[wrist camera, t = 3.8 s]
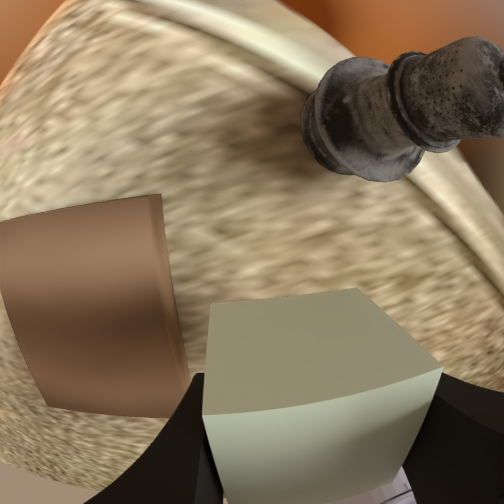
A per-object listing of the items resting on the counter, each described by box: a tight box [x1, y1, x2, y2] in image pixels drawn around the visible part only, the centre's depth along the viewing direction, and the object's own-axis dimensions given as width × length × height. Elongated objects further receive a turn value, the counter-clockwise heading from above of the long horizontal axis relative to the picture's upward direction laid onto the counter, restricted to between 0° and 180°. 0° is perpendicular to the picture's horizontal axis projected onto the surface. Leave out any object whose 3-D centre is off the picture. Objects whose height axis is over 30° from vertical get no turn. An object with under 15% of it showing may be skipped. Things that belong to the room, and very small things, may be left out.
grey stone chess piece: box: [301, 36, 504, 182], centre depth 8 cm, size 6×6×12 cm
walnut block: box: [0, 194, 191, 418], centre depth 14 cm, size 12×10×3 cm
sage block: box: [202, 288, 444, 504], centre depth 8 cm, size 5×5×5 cm
